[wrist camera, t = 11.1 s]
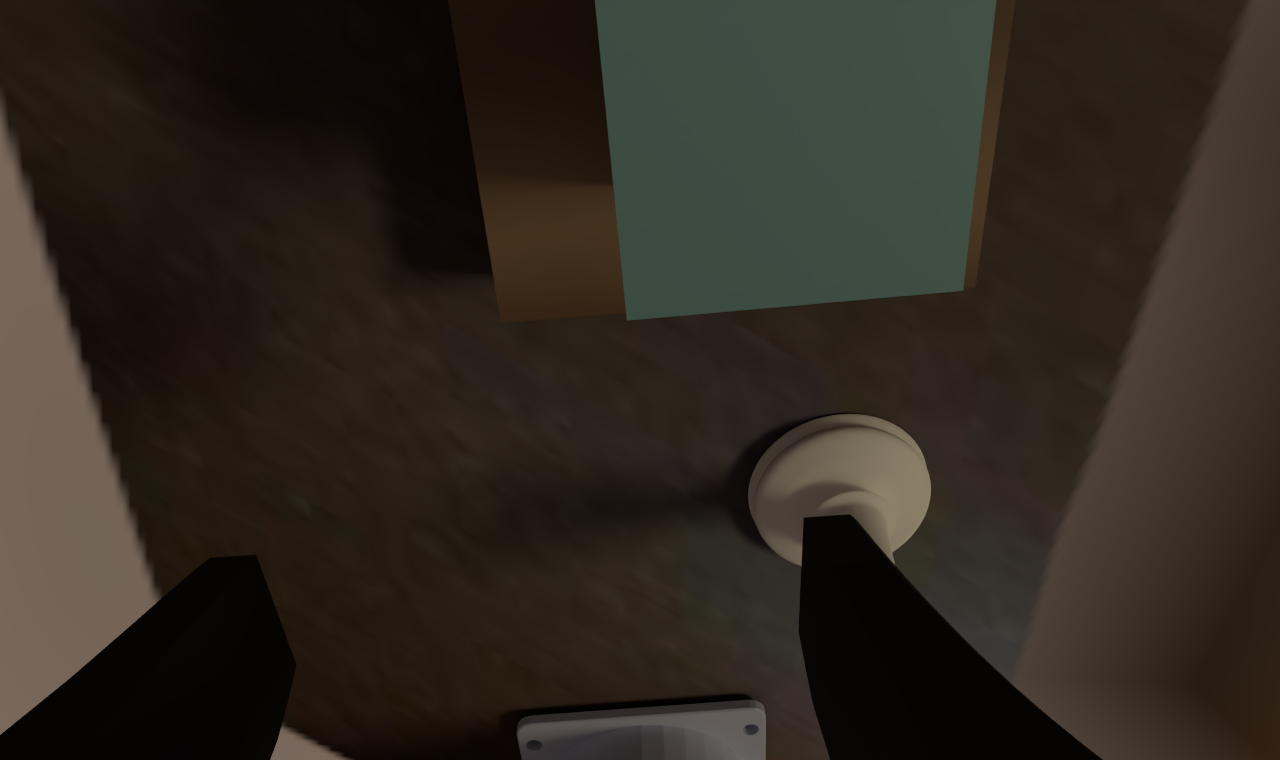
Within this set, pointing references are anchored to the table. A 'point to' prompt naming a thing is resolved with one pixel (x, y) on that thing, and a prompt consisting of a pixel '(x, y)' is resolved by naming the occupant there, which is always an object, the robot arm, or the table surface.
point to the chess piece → (840, 482)
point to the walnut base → (583, 153)
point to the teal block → (792, 148)
